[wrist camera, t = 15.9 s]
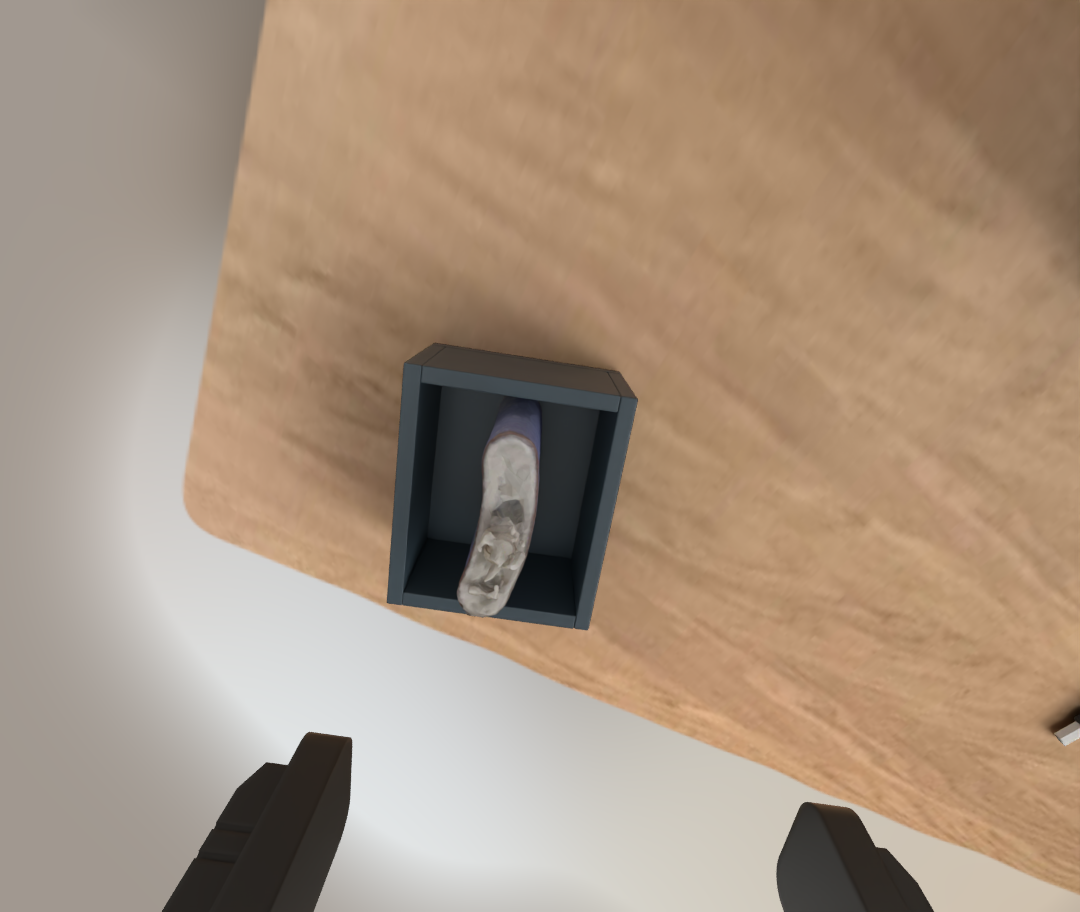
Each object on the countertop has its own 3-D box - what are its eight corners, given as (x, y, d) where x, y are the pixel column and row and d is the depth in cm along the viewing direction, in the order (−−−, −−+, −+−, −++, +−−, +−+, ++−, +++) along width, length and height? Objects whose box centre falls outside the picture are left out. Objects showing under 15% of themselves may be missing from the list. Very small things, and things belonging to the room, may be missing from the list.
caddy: (619, 371, 31) (638, 398, 25) (580, 564, 35) (588, 631, 29) (433, 342, 31) (403, 362, 24) (416, 541, 35) (386, 603, 28)
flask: (503, 383, 31) (482, 442, 20) (554, 394, 31) (558, 458, 21) (475, 529, 34) (444, 643, 23) (522, 538, 34) (512, 656, 24)
